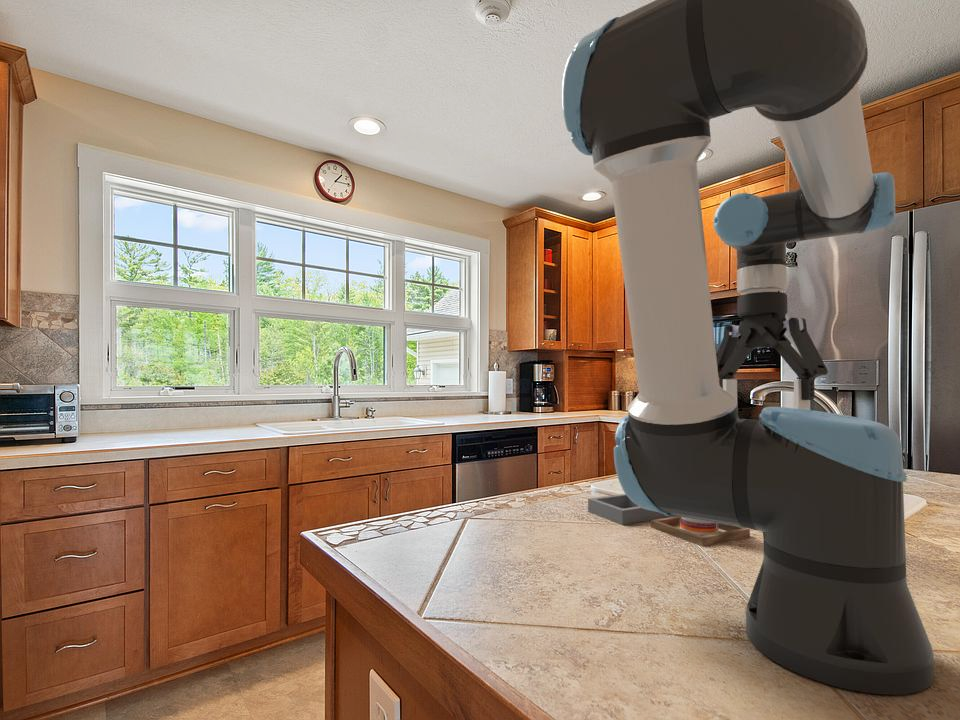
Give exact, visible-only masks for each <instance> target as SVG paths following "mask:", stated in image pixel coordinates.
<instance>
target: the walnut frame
mask: <svg viewBox="0 0 960 720" xmlns="http://www.w3.org/2000/svg"><path fill="white" fill-rule="evenodd" d="M676 525H680V516H677V517H666V518H660V519H654V520H650V528H652V529H655V530H657V531H660V532H662V533H666V534H668V535H671V536H674V537H677V538H679V539H682V540H685V541H688V542H690V543H693V544H696V545H698V546H701V547H703V546H709V545H713V544H718V543H723V542H729V541H735V540H738V539H744V538H749V537H750V536H751V529H750V528H743V527H738V526H732V525H726V524H721V523H718V529H720V530H723V531H722V532H718V533H716V534H710V535H705V536H700V535H697V534H694V533H691V532H688V531H685V530H682V529H680V527H679V528H678V527H676Z"/></svg>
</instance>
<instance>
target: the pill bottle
mask: <svg viewBox="0 0 960 720" xmlns="http://www.w3.org/2000/svg"><path fill="white" fill-rule="evenodd" d="M679 529H682V530H685V531H688V532H691V533H694V534H697V535H700V536H705V535H710V534H716V533H719V528H718V523H715V522H709V521H703V520H698V519H692V518H686V517H680V524H679Z"/></svg>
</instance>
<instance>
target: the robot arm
mask: <svg viewBox="0 0 960 720" xmlns="http://www.w3.org/2000/svg"><path fill="white" fill-rule="evenodd" d="M867 44H868V43H867V35H866V30H865V27H864V24H863V21H862V19H861V16H860V14H859V12H858V11H857V9H855V6H853V3H852V2H851V1H850V0H653V1H651V2H649V3H647V4H644V5H642V6H641V7H638V8H637V9H634V10H632V11H629V12H627V13H626V14H624V15H622V16H616V17H614V18H612V19H610V20H608V21H607V22H606V23H604V24H603V25H602V26H601V27H599V28H598V29H595V30H594V31H592V32H590V33H588V34H586V35H585V36H583V37H582V38H581V39H580V40H578V41H577V43H576V44H575V45H574V46H573V48H572V51H571V53H570V55H569V56H568V57H567V60H566V63H565V66H564V71H563V75H562V82H561V83H562V84H561V106H562V114H563V118H564V119H563V120H564V123H565V127H566V130H567V131H568V133H570V134H571V137H570V140H571V142H572V144H573V145H574V147H575V148H576V149H577V151H579V152H580V153H581V154H583V155H585V156H591V157H592V162H593V168H594V170H595V171H596V172H598V174H600V175H602V176H603V177H604V178H606V179H607V180H608V181H609V182H610V184H611V186H610V187H611V192H612V199H613V201H612V202H613V207H614V208H613V209H614V216H615V222H616V230H617V231H616V232H617V237H618V246H619V252H620V258H621V259H620V260H621V268H622V269H621V270H622V274H623V276H622V277H623V282H624V290H625V297H626V306H627V313H628V319H629V328H630V335H631V343H632V350H633V357H634V363H635V370H636V372H635V373H636V380H637V387H638V394H637V395H636V397H634V399H633V400H632V401H631V402H630V403H629V404H628V406H627V412H628V413H627V414H626V415H625V416H624V417H623V418H622V419H621V420H620V421H619V423H618V425H617V427H616V430H615V435H614V441H615V443H616V444H615V446H614V447H613V461H614V462H613V463H614V468H615V473H616V477H617V479H618V482H619V484H620V486H621V488H622V490H623V492H624V494H626V495H627V496H628V498H629V499H630V500H631V501H632V502H633V503H635V504H636V505H638V506H639V507H641V508H643V509H646V510H651V511H656V512H659V513H662V514H664V515H666V516H671V517H677V516H680V517H686V518H692V519H698V520H703V521H709V522H715V523H721V524H726V525H732V526H738V527H743V528H748V529H750V530H756V531H760V532H762V536H763V559H762V563H761V565H760V569H759V571H758V574H757V577H756V579H755V581H754V584H753V588H752V590H751V594H750V596H749V599H748V602H747V604H746V608H745V609H746V610H745V632H746V635H747V638H748V640H749V641H750V643H751V644H752V645H753V646H754V647H755V648H756V649H757V650H758V651H759V652H760V653H761V654H763V655H764V656H766V657H767V658H769V659H770V660H771V661H773V662H775V663H776V664H778V665H780V666H782V667H783V668H786V669H788V670H790V671H792V672H794V673H796V674H799V675H801V676H803V677H806V678H808V679H812V680H814V681H818V682H820V683H823V684H826V685H830V686H834V687H837V688H841V689H844V690H845V689H846V690H850V691H856V692H859V693H860V692H861V693H867V694H876V695H892V696H893V695H895V696H896V695H909V694H913V693H914V694H915V693H918V692H919V693H920V692H922V691H924V690H925V689H928V688H930V686H931V685H932V684H933V682H934V681H935V664H934V663H935V661H934V660H935V659H934V656H935V655H934V654H935V653H934V650H933V647H932V645H931V642H930V639H929V636H928V635H927V631H926V629H925V627H924V624H923V621H922V619H921V616H920V613H919V611H918V609H917V606H916V604H915V601H914V600H913V597H912V595H911V592H910V589H909V586H908V583H907V580H908V579H907V552H906V551H907V549H906V548H907V547H906V528H905V527H906V526H905V524H906V523H905V503H904V502H905V500H904V483H906V481H907V477H908V475H907V473H906V471H905V470H904V459H903V449H902V442H901V438H900V437H899V435H898V433H896V431H895V430H893V428H891V427H890V426H887V425H885V424H883V423H881V422H877V421H875V420H871V419H866V418H862V417H856V416H852V415H851V416H850V415H845V414H840V413H833V412H828V411H827V412H826V411H819V410H813V409H812V410H811V401H814V399H815V395H816V394H815V393H816V392H815V391H816V390H815V381H816V379H817V378H819V377H821V376H826V375H828V373H829V371H828V368H827V366H826V363H824V360H823V359H822V357H821V355H820V353H819V352H818V349H817V347H816V345H815V343H814V341H813V340H812V338H811V335H810V334H809V332H808V329H807V321H806V319H805V318H803V317H802V318H801V317H790V318H789V319H788V320H787V318H786V315H787V314H788V313H789V312H788V295H787V294H786V292H784V291H787V289H788V279H787V277H788V275H787V272H788V271H787V270H788V269H787V244H790V243H791V244H792V243H796V242H802V241H810V240H817V239H823V238H825V239H826V238H831V237H839V236H846V235H853V234H854V235H855V234H864V233H866V232H871V231H875V230H880V229H886V228H889V227H891V225H893V224H894V223H895V221H896V189H895V188H896V187H895V185H896V184H895V177H894V175H893V174H892V173H890V172H886V171H885V172H884V171H883V172H878V173H874V172H873V169H872V163H871V157H870V156H871V155H870V149H869V143H868V137H867V131H866V125H865V124H866V123H865V118H864V112H863V106H862V99H861V93H860V86H859V83H860V81H861V79H862V77H863V75H864V73H865V71H866V68H867V65H868V59H869V58H868V57H869V52H868V45H867ZM746 108H747V109H748V108H755V111H757V113H758V114H759V115H760V116H762V117H764V118H765V119H767V120H768V121H772V122H773V124H774V126H775V128H776V130H777V133H778V136H779V138H780V140H781V143H782V145H783V148H784V150H785V152H786V154H787V157H788V160H789V162H790V164H791V167H792V169H793V172H794V174H795V176H796V179H797V182H798V184H799V187H800V188H798V189H794V190H789V191H783V192H779V193H773V194H768V195H764V196H757V195H755V194H752V193H748V192H741V193H736V194H733V195H731V196H729V197H728V198H726V199H725V200H723V201H722V202H721V203H720V204H719V206H718V207H717V208H716V211H715V213H714V216H713V223H712V224H713V228H714V231H715V233H716V234H717V236H718V237H719V238H720V239H721V241H722V242H723V243H724V244H725V245H726V246H729V247H732V248H733V249H735V250H736V292H737V293H738V294H740V295H739V296H738V297H737V304H736V305H737V317H738V318H739V319H740V322H739V324H738V325H737V324H725V325H724V328H723V336H722V340H721V343H720V345H719V347H718V351H717V350H716V340H715V339H716V338H715V331H714V320H713V319H714V318H713V310H712V303H711V302H712V300H711V293H710V291H711V290H710V282H709V281H710V280H709V272H708V262H707V261H708V260H707V251H706V244H705V243H706V242H705V233H704V231H705V230H704V221H703V212H702V203H701V193H700V183H699V174H698V164H697V163H698V161H699V159H700V157H701V156H702V154H703V153H704V152H705V151H706V149H707V148H708V146H710V144H711V141H712V138H711V136H712V135H711V127H710V121H711V119H715V118H718V117H722V116H725V115H729V114H731V113H733V112H735V111H738V110H743V109H746ZM786 332H789V333H790V337H791V338H792V341H793V342H794V345H795V346H796V348H797V350H798V351H797V350H796V349H795V348H794V347H793V345H792V342H791V341H790V340H789V339H788V338H787V336H786V335H785V334H786ZM740 336H741V337H740ZM739 337H740V338H739ZM764 348H768V349H769V348H770V349H771V348H772V349H774V350H775V351H777V353H778V354H779V355H780V356H781V358H782V359H783V360H784V362H785V363H786V364H788V366H789V367H790V368H791V370H792V372H794V374H795V375H796V376H797V377H796V379H793V408H792V407H785V406H765V407H764V408H763V409H762V410H761V412H760V413H759V415H758V419H750V418H739V414H738V379H737V378H736V377H735V374H737V372H738V371H739V369H741V368H740V367H741V366H742V365H743V363H744V362H745V361H746V359H747V357H748V356H750V355H749V354H750V353H751V352H753V351H754V350H755V349H764ZM735 378H736V379H735Z"/></svg>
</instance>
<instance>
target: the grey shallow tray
mask: <svg viewBox="0 0 960 720" xmlns="http://www.w3.org/2000/svg"><path fill="white" fill-rule="evenodd" d="M587 512H589V513H591V514H594V515H597V516H600V517H602V518H605V519H607V520H610V521H612V522H614V523H618V524H620V525H630V524H635V523H641V522H647V521H648V522H649V521H651V520H657V519H663V518H669V517H671V516H666V515H664V514H662V513H659V512H656V511H651V510H646V509H643V508H641V507H639V506H638V505H636V504H635V503H633V502H632V501H631V500H630V499H629V498H628V496H627V495H626V494H625V493H622V494H614V495H606V496H599V497H590V498H587Z"/></svg>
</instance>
